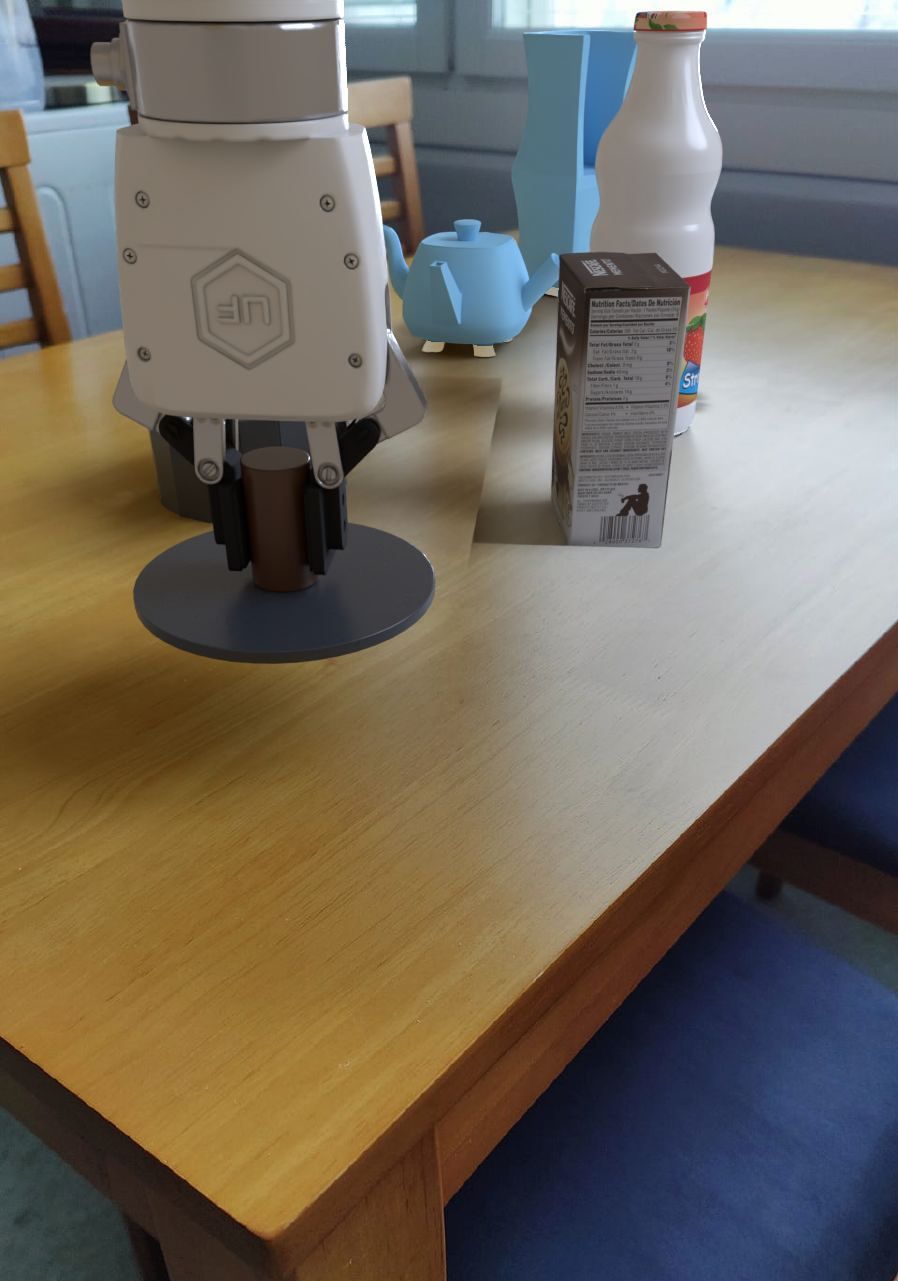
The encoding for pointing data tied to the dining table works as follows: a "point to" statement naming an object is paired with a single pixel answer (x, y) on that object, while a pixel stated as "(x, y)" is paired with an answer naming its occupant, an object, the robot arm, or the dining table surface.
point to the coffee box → (616, 396)
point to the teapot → (466, 285)
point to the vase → (566, 136)
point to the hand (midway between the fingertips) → (284, 557)
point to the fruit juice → (664, 173)
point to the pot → (179, 475)
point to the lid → (282, 581)
